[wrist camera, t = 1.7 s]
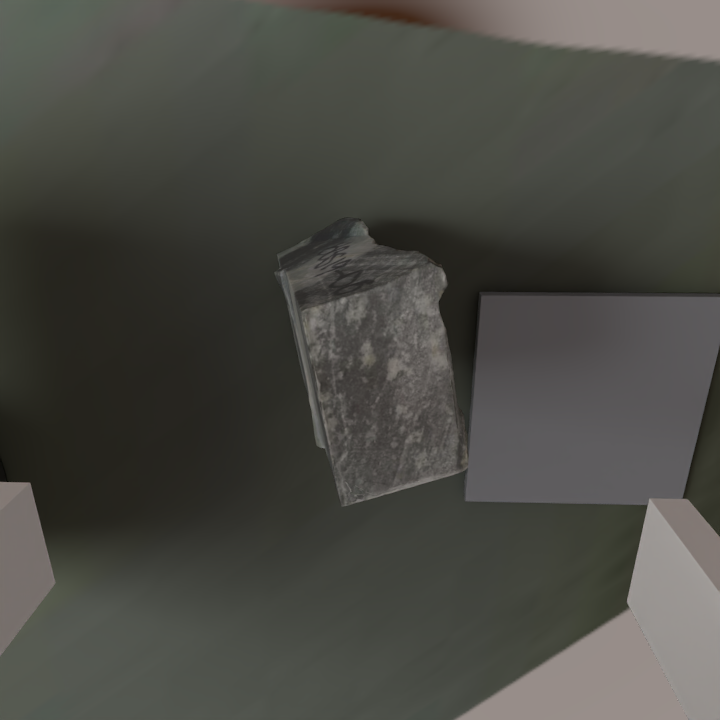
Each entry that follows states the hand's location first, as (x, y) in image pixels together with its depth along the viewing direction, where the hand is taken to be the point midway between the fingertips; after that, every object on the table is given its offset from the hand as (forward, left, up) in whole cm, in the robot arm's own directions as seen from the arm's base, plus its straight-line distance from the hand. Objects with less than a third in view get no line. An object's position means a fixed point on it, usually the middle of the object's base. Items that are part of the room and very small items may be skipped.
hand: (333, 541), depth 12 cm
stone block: (0, 0, -23) cm, 23 cm away
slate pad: (+14, -7, -22) cm, 27 cm away
